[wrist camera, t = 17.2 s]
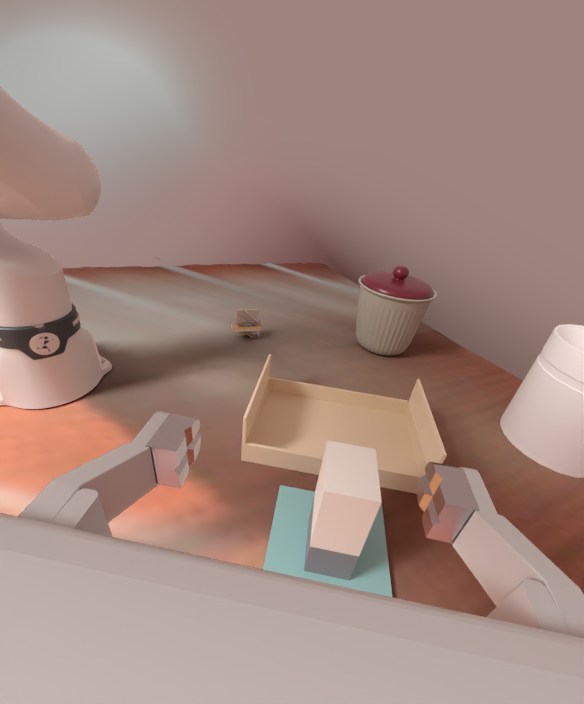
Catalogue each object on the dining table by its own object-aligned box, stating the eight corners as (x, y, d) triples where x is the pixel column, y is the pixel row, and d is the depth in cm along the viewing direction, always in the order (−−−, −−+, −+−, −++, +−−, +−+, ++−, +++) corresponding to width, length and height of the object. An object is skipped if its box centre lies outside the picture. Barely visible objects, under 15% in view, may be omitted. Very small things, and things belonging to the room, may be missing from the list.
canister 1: (331, 339, 83) (347, 259, 73) (372, 324, 94) (391, 253, 83) (388, 372, 72) (417, 284, 61) (428, 351, 83) (458, 273, 72)
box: (349, 580, 34) (381, 502, 27) (303, 570, 35) (323, 491, 27) (348, 526, 39) (375, 449, 32) (308, 518, 40) (327, 440, 33)
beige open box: (425, 495, 45) (447, 455, 41) (241, 460, 47) (242, 417, 43) (405, 415, 60) (419, 379, 56) (265, 390, 62) (268, 353, 57)
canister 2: (486, 405, 65) (535, 318, 55) (567, 419, 64) (631, 333, 54) (524, 468, 52) (598, 367, 41) (627, 487, 51) (729, 388, 40)
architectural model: (261, 341, 79) (263, 314, 75) (233, 344, 77) (234, 316, 73) (257, 335, 82) (259, 309, 78) (231, 337, 79) (231, 310, 76)
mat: (395, 639, 31) (396, 636, 31) (255, 608, 32) (255, 605, 31) (380, 507, 43) (381, 504, 42) (279, 487, 44) (280, 485, 43)
